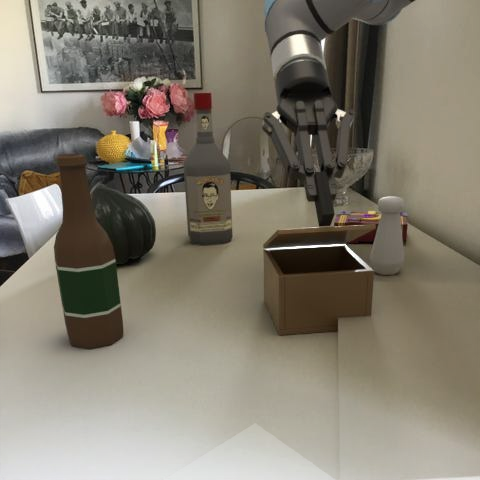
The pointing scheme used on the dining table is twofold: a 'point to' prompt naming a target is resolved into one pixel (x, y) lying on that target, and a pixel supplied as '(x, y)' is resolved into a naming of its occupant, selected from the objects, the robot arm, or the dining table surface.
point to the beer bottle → (85, 263)
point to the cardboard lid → (316, 236)
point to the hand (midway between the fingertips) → (326, 220)
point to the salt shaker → (388, 237)
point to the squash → (124, 223)
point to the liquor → (207, 182)
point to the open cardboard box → (315, 287)
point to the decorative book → (367, 223)
